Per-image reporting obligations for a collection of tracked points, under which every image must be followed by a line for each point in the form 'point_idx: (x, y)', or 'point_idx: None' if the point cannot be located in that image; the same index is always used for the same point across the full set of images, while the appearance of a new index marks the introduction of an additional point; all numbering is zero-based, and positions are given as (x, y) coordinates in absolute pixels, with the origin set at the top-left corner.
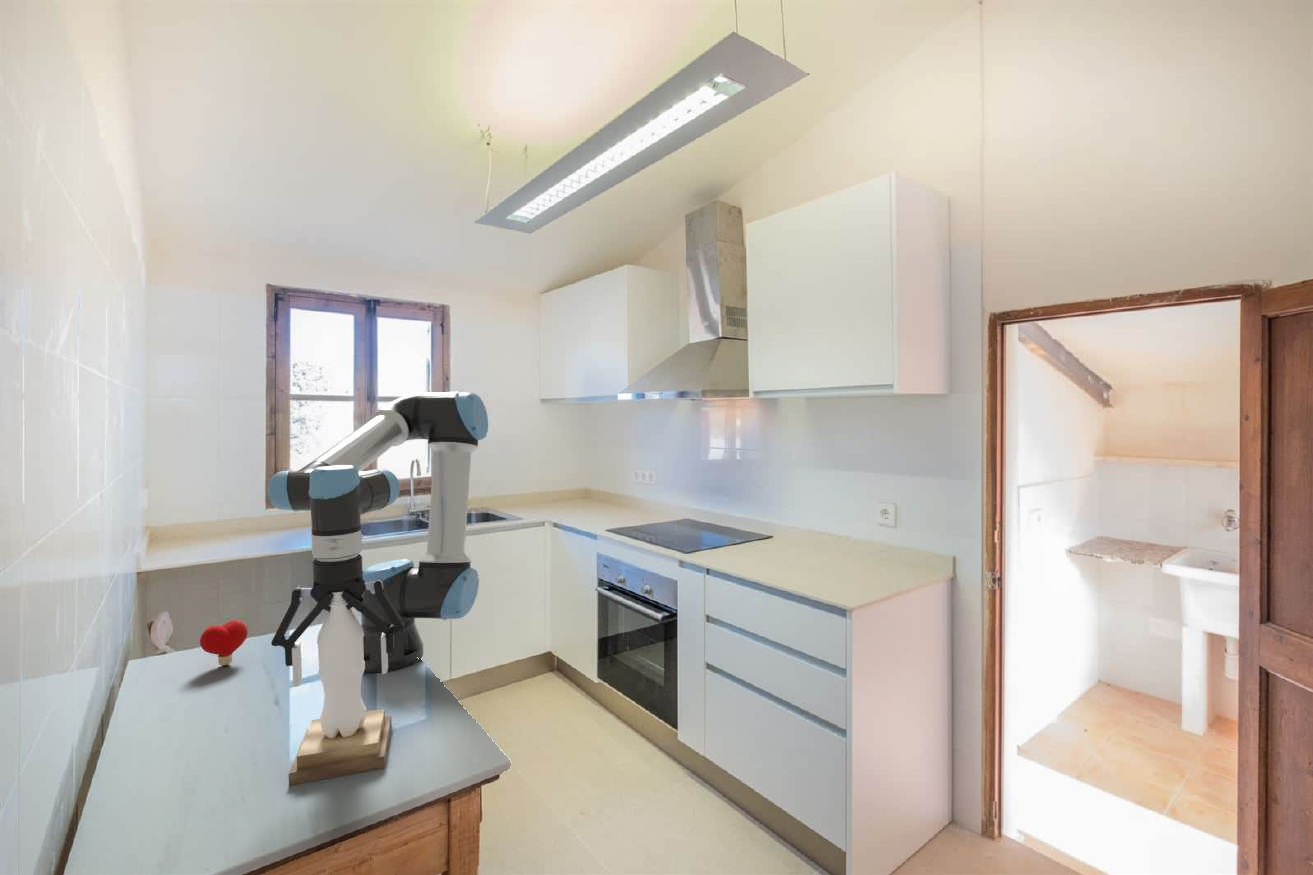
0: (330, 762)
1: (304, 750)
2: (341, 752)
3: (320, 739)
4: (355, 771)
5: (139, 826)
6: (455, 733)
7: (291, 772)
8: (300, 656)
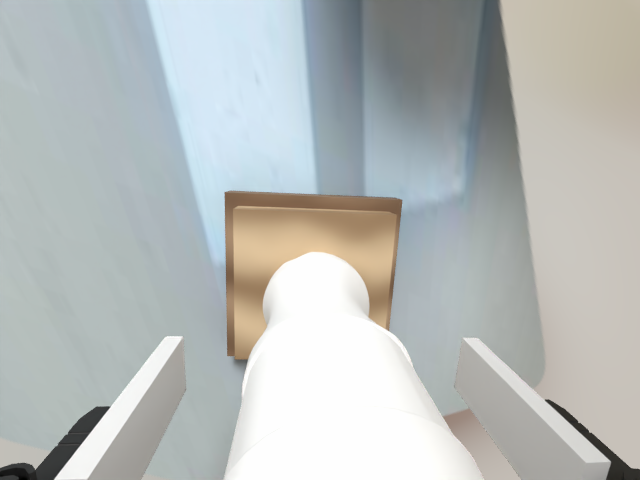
0: None
1: (245, 341)
2: None
3: None
4: None
5: (25, 376)
6: (504, 274)
7: (231, 354)
8: (137, 416)
